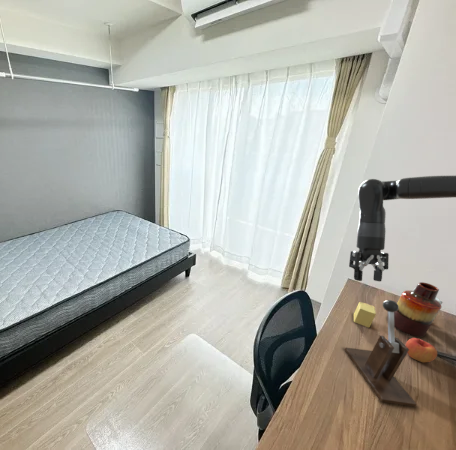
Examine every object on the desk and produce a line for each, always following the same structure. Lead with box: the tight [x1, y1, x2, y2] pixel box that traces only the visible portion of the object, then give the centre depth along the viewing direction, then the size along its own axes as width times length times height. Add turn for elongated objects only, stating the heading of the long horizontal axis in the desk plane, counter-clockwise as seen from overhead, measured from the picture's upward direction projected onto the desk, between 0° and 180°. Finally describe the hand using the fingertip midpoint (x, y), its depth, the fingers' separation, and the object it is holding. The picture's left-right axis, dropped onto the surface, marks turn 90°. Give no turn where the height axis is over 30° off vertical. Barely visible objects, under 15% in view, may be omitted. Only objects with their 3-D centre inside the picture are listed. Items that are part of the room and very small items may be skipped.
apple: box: [405, 337, 438, 363], centre depth 84 cm, size 7×7×8 cm
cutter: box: [344, 335, 417, 407], centre depth 76 cm, size 18×9×15 cm, turn 173°
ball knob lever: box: [382, 299, 399, 353], centre depth 75 cm, size 15×4×4 cm
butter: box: [353, 301, 377, 328], centre depth 100 cm, size 5×6×8 cm
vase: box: [394, 281, 442, 338], centre depth 96 cm, size 11×11×20 cm
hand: (367, 280), depth 87 cm, fingers open, 8 cm apart
